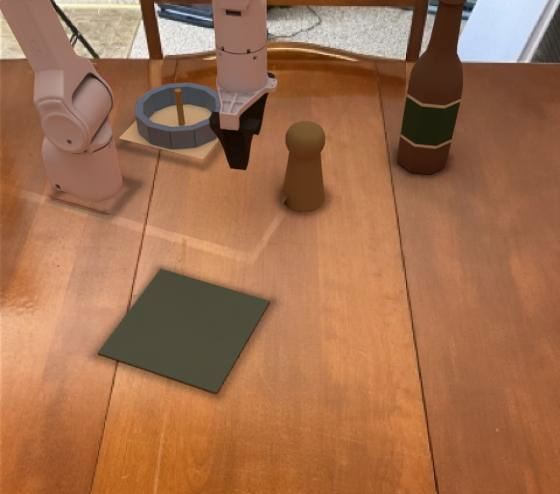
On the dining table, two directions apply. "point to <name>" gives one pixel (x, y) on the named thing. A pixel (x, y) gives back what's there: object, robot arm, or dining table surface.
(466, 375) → the dining table surface
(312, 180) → the brown pawn
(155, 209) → the dining table surface
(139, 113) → the ring
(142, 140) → the stand
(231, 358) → the mat
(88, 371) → the dining table surface
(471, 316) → the dining table surface
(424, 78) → the beer bottle
